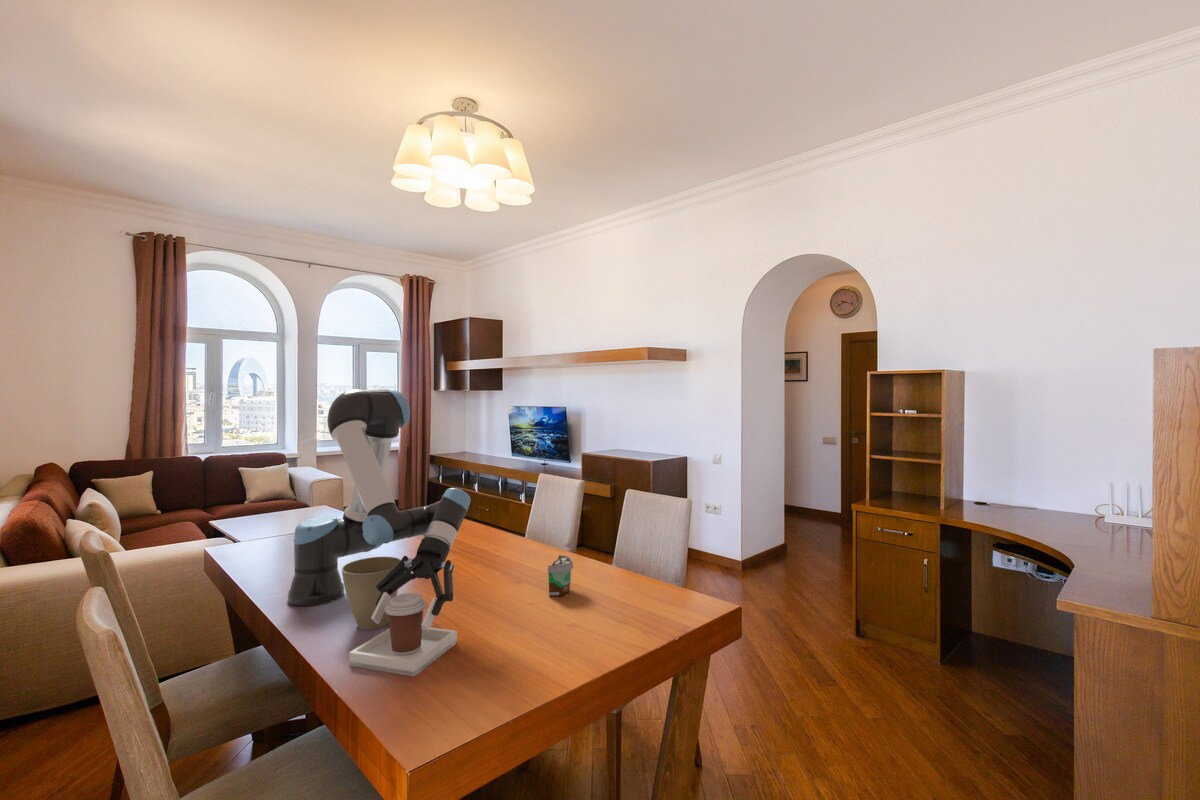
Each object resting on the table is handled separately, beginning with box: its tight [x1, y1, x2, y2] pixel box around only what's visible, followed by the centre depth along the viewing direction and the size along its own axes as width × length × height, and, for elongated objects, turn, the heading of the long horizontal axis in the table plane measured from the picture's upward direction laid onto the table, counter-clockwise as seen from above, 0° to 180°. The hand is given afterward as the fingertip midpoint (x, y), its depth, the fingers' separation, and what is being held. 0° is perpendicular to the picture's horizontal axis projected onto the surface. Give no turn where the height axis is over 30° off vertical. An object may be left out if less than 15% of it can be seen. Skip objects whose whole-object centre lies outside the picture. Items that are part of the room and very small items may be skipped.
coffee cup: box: [385, 592, 427, 655], centre depth 130 cm, size 9×9×12 cm
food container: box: [547, 554, 574, 598], centre depth 171 cm, size 12×6×10 cm, turn 168°
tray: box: [348, 627, 458, 677], centre depth 130 cm, size 17×17×3 cm
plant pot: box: [341, 556, 401, 631], centre depth 147 cm, size 15×15×16 cm
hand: (399, 624), depth 128 cm, fingers open, 13 cm apart
